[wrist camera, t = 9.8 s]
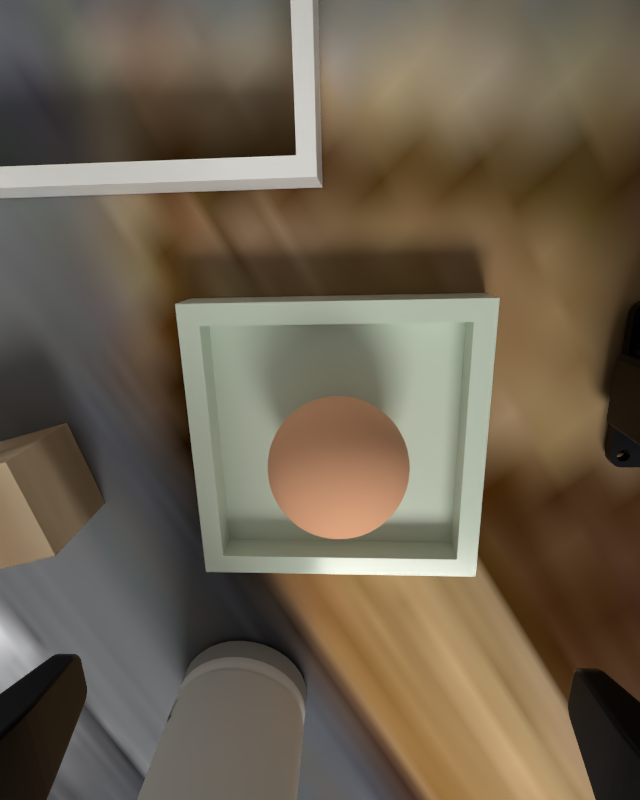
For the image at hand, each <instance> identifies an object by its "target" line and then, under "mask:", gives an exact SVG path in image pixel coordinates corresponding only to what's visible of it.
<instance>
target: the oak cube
mask: <svg viewBox="0 0 640 800" xmlns="http://www.w3.org/2000/svg"><path fill="white" fill-rule="evenodd" d="M104 503H105V501H104V499H103V497H102V495H101V493H100V491H99V489H98V486H97V484H96V482H95V480H94V478H93V476H92V474H91V472H90V470H89V468H88V466H87V464H86V461H85V459H84V457H83V455H82V453H81V451H80V449H79V447H78V445H77V443H76V441H75V439H74V436H73V434H72V432H71V430H70V428H69V426H68V424H67V423H64V424H61V425H57V426H54V427H50V428H46V429H43V430H39V431H36V432H32V433H29V434H25V435H22V436H18V437H15V438H11V439H8V440H4V441H1V442H0V569H2V568H7V567H11V566H15V565H19V564H23V563H27V562H32V561H36V560H40V559H44V558H48V557H52V556H56V555H57V554H58V553H59V551H60V550H61V549H62V548H63V547H64V546H65V545H66V544H67V543H68V542H69V541H70V540H71V539H72V538H73V537H74V535H75V534H76V533H77V532H78V531H79V530H80V529H81V528H82V527H83V526H84V525H85V524H86V523H87V522H88V521H89V519H90V518H91V517H92V516H93V515H94V514H95V513H96V512H97V511H98V510H99V509H100V508H101V507H102V506H103V505H104Z"/></svg>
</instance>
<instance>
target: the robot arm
mask: <svg viewBox="0 0 640 800" xmlns="http://www.w3.org/2000/svg"><path fill="white" fill-rule="evenodd" d="M607 421H608V422H609V423H610V426H609V432H608V438H607V444H606V450H605V456H606V458H607V459H608V460H609V461H610V462H611V463H612V464H614V465H615V466H617V467H640V301H638V302H637V303H635V304H634V305H633V306H632V307H631V308H630V311H629V313H628V319H627V325H626V331H625V337H624V343H623V349H622V355H621V356H620V357H619V358H618V360H617V361H616V366H615V372H614V378H613V384H612V390H611V396H610V402H609V408H608V414H607ZM621 450H625V452H624V454H623V455H622V456H621V457H617V454H618V452H620V451H621ZM86 695H87V685H86V681H85V676H84V672H83V668H82V663H81V659H80V657H79V656H78V655H76V654H56V655H54V656H52V657H51V658H49V659H48V660H46V661H45V662H44V663H42V664H41V665H39V666H38V667H37V668H35V669H34V670H33V671H31V672H30V673H28V674H27V675H26V676H24V677H23V678H22V679H20V680H19V681H17V682H16V683H15V684H13V685H12V686H10V687H9V688H8V689H6V690H5V691H4V692H2V693H1V694H0V800H46V799H47V797H48V795H49V792H50V790H51V787H52V785H53V783H54V780H55V778H56V775H57V773H58V770H59V767H60V765H61V762H62V760H63V757H64V755H65V752H66V749H67V747H68V744H69V742H70V739H71V736H72V734H73V731H74V729H75V726H76V724H77V721H78V718H79V716H80V713H81V711H82V708H83V705H84V703H85V700H86ZM568 711H569V717H570V720H571V723H572V727H573V730H574V733H575V736H576V739H577V742H578V745H579V749H580V752H581V755H582V758H583V761H584V764H585V767H586V771H587V774H588V777H589V780H590V783H591V786H592V789H593V793H594V796H595V799H596V800H640V702H639V701H638V700H637V699H635V698H634V697H633V696H632V695H631V694H629V693H628V692H627V691H626V690H625V689H624V688H622V687H621V686H620V685H619V684H618V683H616V682H615V681H614V680H613V679H612V678H611V677H609V676H608V675H607V674H606V673H605V672H603V671H601V670H599V669H591V668H578V669H576V670H575V671H574V673H573V677H572V683H571V688H570V694H569V700H568Z"/></svg>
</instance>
